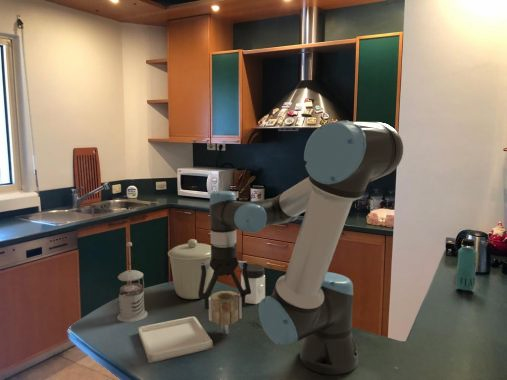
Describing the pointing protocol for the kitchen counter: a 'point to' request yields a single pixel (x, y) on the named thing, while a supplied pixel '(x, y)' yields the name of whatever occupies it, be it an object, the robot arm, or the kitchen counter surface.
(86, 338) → the kitchen counter surface
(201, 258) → the canister
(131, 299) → the french press
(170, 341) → the tray
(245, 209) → the robot arm
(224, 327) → the stake
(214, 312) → the ring
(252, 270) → the jar
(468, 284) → the beverage bottle
